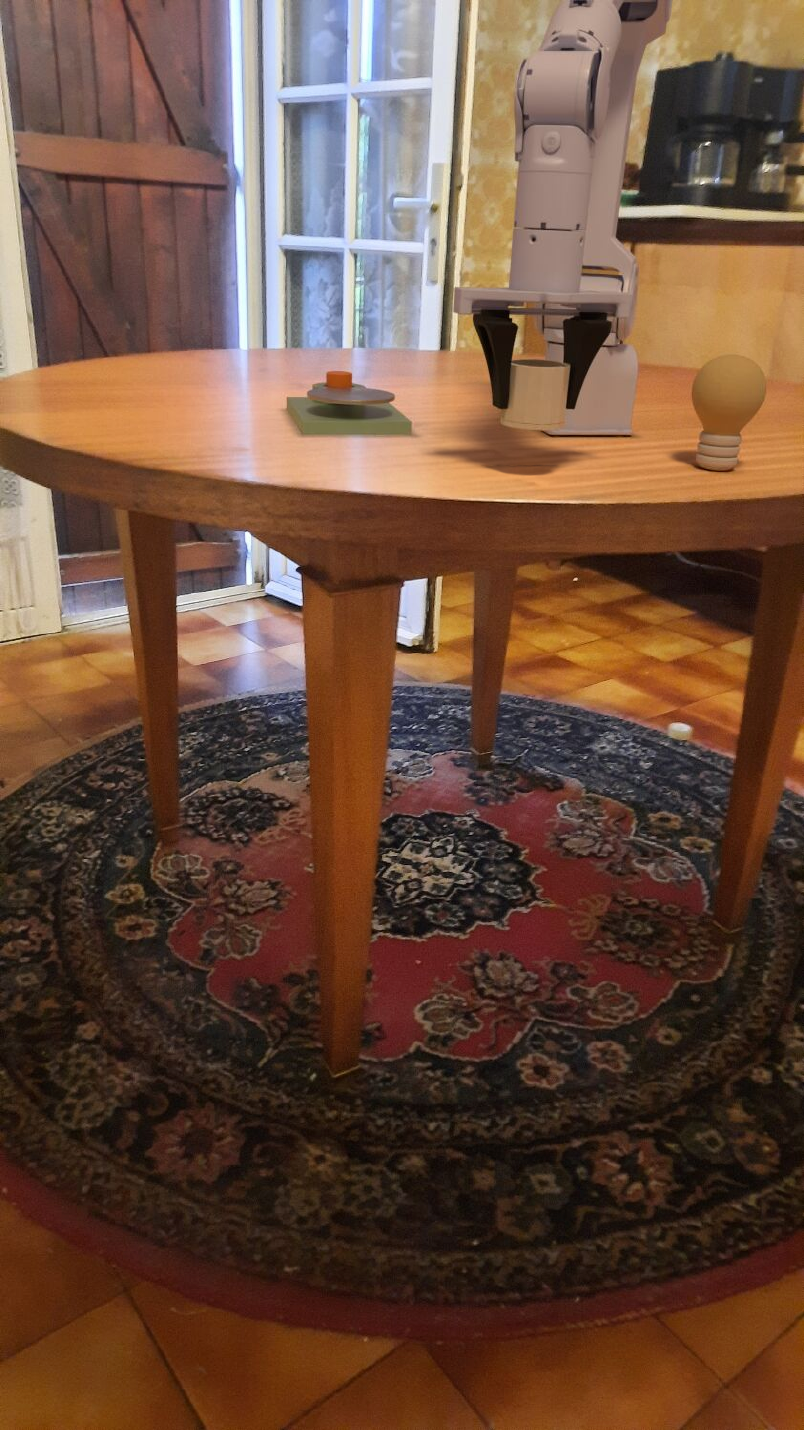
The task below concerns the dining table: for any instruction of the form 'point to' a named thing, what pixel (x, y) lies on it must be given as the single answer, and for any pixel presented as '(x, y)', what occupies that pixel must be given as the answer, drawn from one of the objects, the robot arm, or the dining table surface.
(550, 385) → the ramekin
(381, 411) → the scale
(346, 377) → the orange cylinder
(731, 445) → the light bulb
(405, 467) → the dining table surface
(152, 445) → the dining table surface
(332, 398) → the weighing pan
